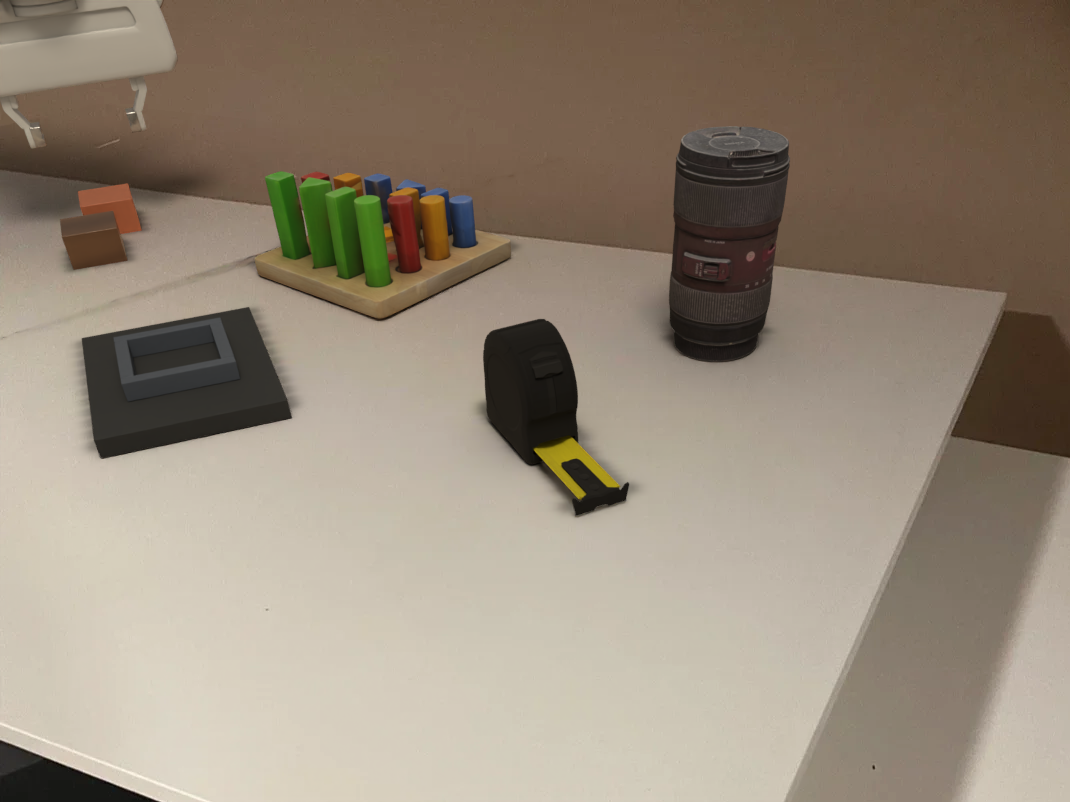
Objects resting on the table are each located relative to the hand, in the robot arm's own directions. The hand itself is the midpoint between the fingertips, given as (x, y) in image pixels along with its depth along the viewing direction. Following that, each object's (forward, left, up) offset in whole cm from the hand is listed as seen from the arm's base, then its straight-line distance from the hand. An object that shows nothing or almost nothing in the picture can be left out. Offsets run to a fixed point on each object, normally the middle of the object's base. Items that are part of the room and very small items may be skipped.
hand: (89, 138), depth 98 cm
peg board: (+15, -27, -9) cm, 32 cm away
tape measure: (+4, -64, -9) cm, 65 cm away
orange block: (0, 0, -9) cm, 9 cm away
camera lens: (+25, -60, -9) cm, 65 cm away
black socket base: (-10, -35, -9) cm, 37 cm away
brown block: (-5, -6, -9) cm, 12 cm away
